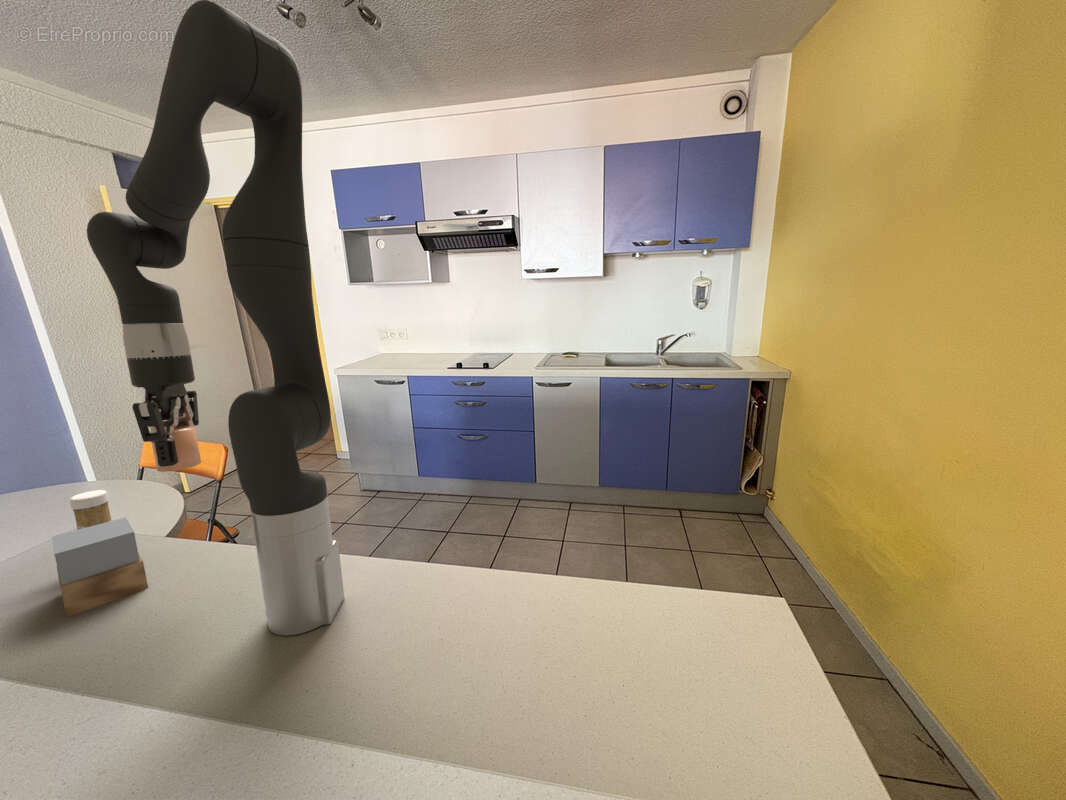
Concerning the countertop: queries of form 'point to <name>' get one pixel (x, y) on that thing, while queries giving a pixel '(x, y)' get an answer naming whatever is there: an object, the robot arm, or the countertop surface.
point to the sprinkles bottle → (90, 508)
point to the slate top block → (94, 550)
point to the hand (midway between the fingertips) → (178, 459)
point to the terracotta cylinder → (182, 449)
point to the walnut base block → (103, 587)
